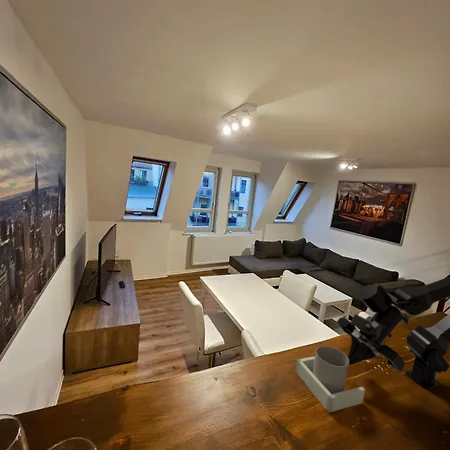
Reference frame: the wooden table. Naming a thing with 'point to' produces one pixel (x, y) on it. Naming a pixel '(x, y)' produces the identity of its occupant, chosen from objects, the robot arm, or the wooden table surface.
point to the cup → (331, 368)
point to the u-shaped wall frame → (321, 393)
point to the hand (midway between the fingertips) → (348, 363)
